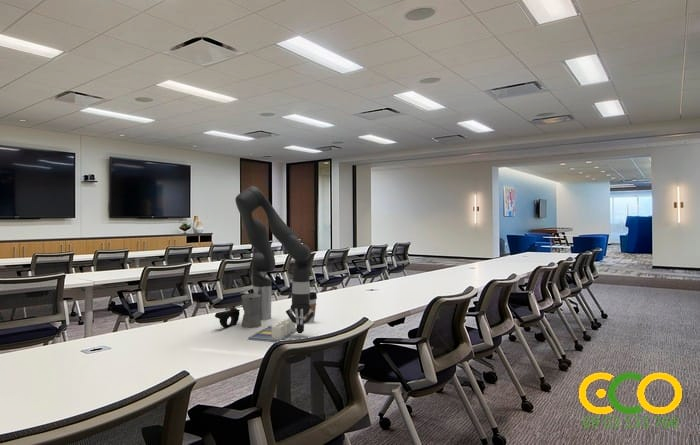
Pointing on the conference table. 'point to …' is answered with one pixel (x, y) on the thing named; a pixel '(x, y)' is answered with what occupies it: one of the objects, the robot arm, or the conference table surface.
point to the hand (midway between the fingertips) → (300, 332)
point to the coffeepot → (251, 310)
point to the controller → (226, 314)
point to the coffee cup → (312, 305)
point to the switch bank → (267, 335)
